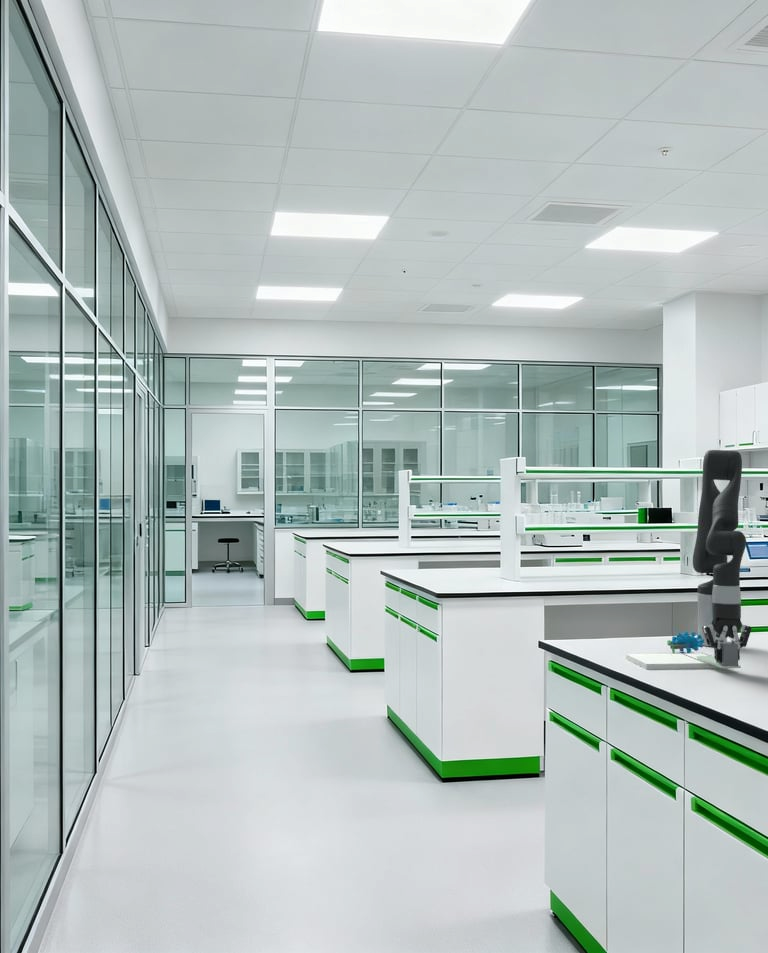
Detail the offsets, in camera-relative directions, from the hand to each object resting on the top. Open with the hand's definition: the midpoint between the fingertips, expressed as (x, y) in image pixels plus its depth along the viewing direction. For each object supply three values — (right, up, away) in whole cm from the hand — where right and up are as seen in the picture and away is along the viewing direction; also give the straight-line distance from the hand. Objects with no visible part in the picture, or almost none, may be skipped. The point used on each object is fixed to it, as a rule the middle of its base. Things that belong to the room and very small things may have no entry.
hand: (727, 661), depth 243 cm
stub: (0, -2, +5) cm, 6 cm away
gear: (-1, -4, +31) cm, 31 cm away
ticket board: (-10, -3, +14) cm, 17 cm away
